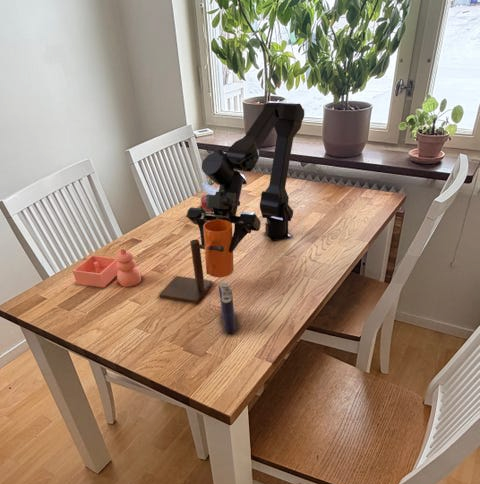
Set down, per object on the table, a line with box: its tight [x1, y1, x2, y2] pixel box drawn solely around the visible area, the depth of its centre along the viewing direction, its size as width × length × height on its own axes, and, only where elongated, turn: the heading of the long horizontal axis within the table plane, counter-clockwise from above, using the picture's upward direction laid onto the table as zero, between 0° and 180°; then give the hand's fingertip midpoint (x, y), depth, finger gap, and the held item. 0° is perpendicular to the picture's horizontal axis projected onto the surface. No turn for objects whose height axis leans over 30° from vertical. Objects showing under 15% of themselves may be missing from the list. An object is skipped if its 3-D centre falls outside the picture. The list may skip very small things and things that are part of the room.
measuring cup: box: [203, 219, 235, 278], centre depth 110 cm, size 11×7×13 cm, turn 158°
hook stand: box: [158, 239, 224, 304], centre depth 112 cm, size 10×18×15 cm, turn 70°
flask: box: [218, 282, 237, 336], centre depth 101 cm, size 9×3×11 cm, turn 8°
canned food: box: [200, 181, 219, 212], centre depth 164 cm, size 11×10×10 cm
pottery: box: [72, 248, 142, 288], centre depth 122 cm, size 18×10×10 cm, turn 72°
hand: (216, 250), depth 111 cm, fingers closed on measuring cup, 7 cm apart
